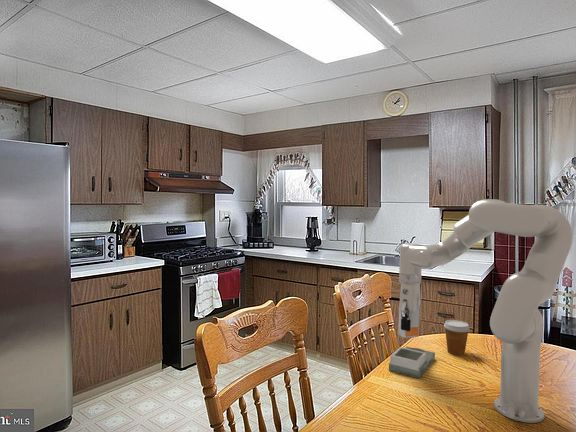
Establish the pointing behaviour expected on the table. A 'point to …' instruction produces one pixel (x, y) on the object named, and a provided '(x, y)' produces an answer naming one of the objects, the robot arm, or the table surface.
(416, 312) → the skincare box
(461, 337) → the disposable coffee cup
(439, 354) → the table surface
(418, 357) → the divided tray with ball
